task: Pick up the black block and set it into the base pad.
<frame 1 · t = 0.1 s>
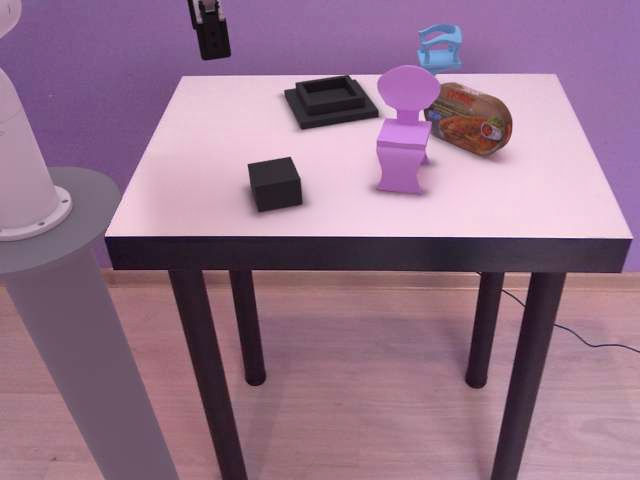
hand: (211, 42, 70), 21 cm above the table, tool pointing down, fingers open, 9 cm apart
toy chair: (403, 178, 87), on the table
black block: (276, 196, 84), on the table
tin: (464, 144, 94), on the table
base pad: (330, 106, 105), on the table
chair: (435, 98, 106), on the table
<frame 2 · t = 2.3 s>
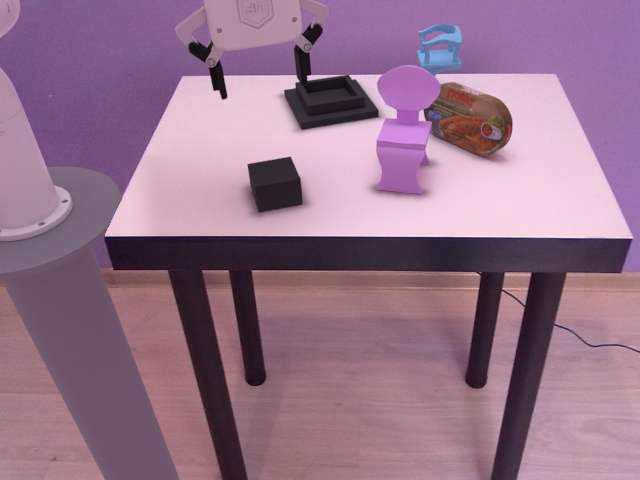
hand: (263, 88, 74), 16 cm above the table, tool pointing down, fingers open, 9 cm apart
nothing on the table moved.
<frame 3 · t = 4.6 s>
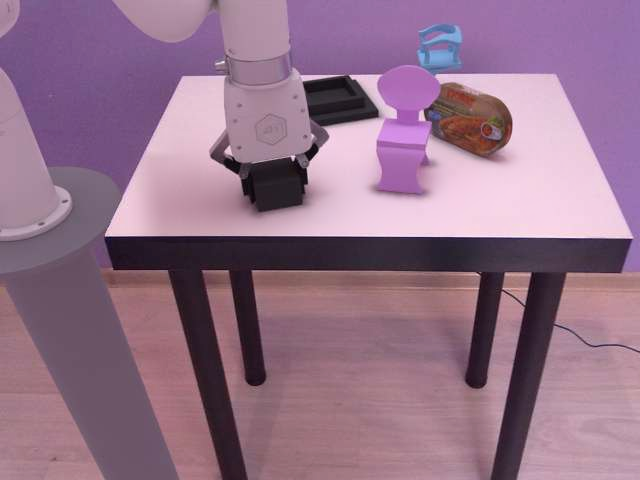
hand: (276, 192, 84), 1 cm above the table, tool pointing down, fingers closed on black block, 6 cm apart
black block: (276, 196, 84), on the table, touching gripper
everything else where it was.
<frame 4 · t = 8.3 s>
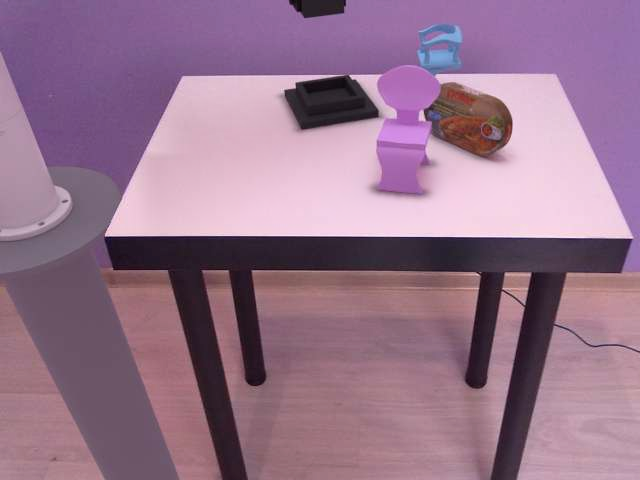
hand: (319, 5, 92), 17 cm above the table, tool pointing down, fingers closed on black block, 6 cm apart
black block: (319, 9, 92), point 17 cm above the table, touching gripper
everything else where it was.
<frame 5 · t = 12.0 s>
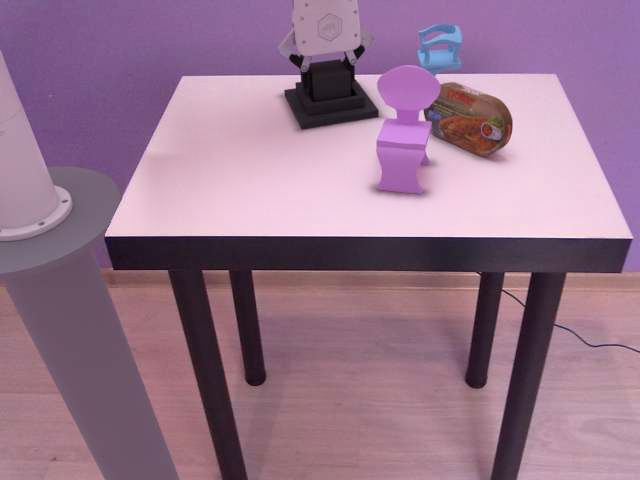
hand: (328, 87, 103), 3 cm above the table, tool pointing down, fingers closed on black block, 6 cm apart
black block: (328, 91, 103), point 3 cm above the table, touching gripper
everything else where it was.
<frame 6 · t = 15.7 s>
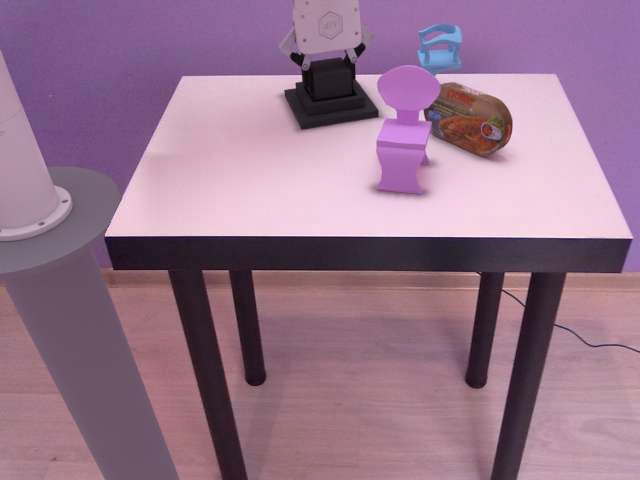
hand: (329, 86, 103), 4 cm above the table, tool pointing down, fingers closed on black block, 6 cm apart
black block: (329, 89, 103), point 3 cm above the table, touching gripper
everything else where it was.
when the fingers open (4 cm above the table, at t = 19.4 s): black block drops 2 cm, resting on base pad.
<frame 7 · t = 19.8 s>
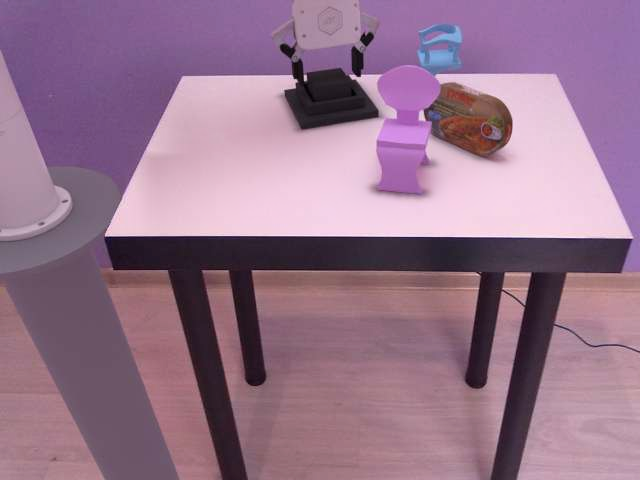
hand: (328, 78, 102), 5 cm above the table, tool pointing down, fingers open, 9 cm apart
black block: (329, 99, 104), point 1 cm above the table, touching base pad
everything else where it was.
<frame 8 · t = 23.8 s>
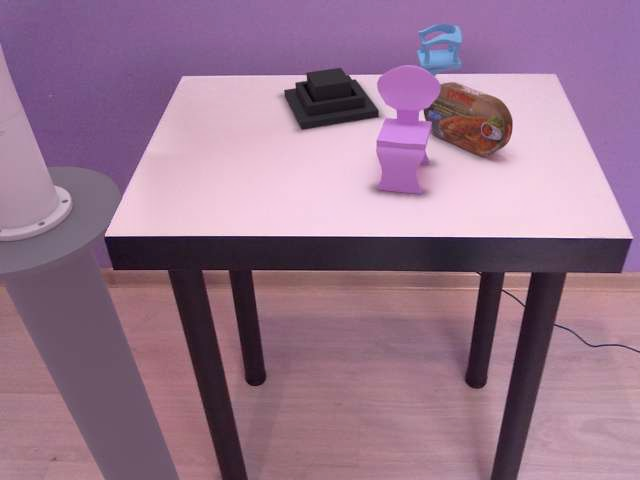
nothing on the table moved.
at the end: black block 0.1 cm off-centre on the base pad, point 1.2 cm above the base pad's base; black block tilted 0°; the gripper is holding nothing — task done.
